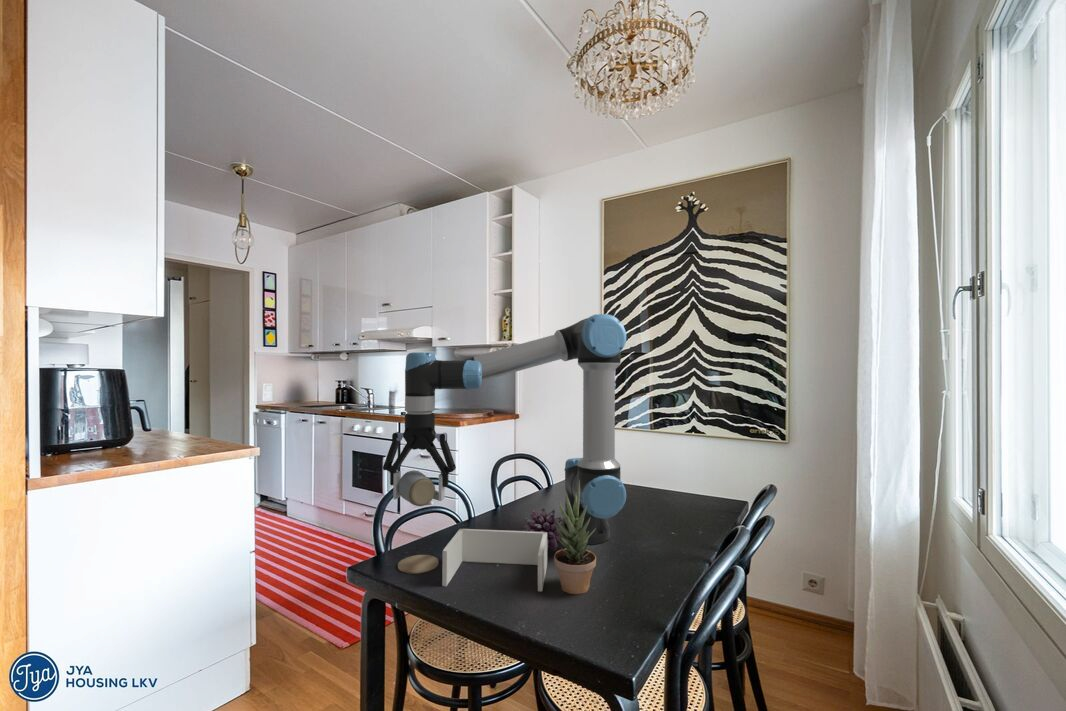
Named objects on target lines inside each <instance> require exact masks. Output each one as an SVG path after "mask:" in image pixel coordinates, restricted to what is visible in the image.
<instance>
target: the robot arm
mask: <svg viewBox="0 0 1066 711" xmlns="http://www.w3.org/2000/svg"><path fill="white" fill-rule="evenodd" d="M626 343H627V332H626V329H625V327H624V324H623V323H622V322H621V321H620V320H619V319H618V318H617V317H616V316H614V315H612V314H607V313H598V314H593V315H590V316H588V317H587V318H586V317H585V318H583V319H581V320H580V321H577V322H576V323H574V324H571V325H569V326H567V327H564V328H561V329H558V330H555V332H554V334H552V335H548V336H544V337H542V338H538V339H535V340H534V339H533V340H530V341H526V342H524V343H523V342H522V343H519V344H515V345H513V346H508V347H504V348H500V349H496V350H494V351H493V350H492V351H490V352H486V353H482V354H478V355H475V356H472V357H469V358H468V357H467V358H464V359H461V360H456V359H455V360H440V359H437V358H436V354H435V353H434V352H419V351H418V352H417V351H416V352H409V353H407V355H406V356H405V369H404V392H405V393H404V411H405V412H406V413H405V414H404V432H399V431H396V432H393V433H392V435H391V444H390V446H389V449H388V452H387V455H386V458H385V460H384V463H383V466H382V470H383V471H386V472H389V475H390V476H389V484H390V486H393V487H392V488H393V491H392V492H393V493H392V496H393V498H392V499H393V500H397V499H399V498H401V495H400V494H399V491H398V484H399V481H400V479H401V477H402V476H401V474H402V473H401V470H399V468H400V467H401V465H402V464H403V462H404V461H405V460H406V458H407V457H408V455H409V454H410V452H411V451H412V450H414V451H415V450H421V451H423V450H426V452H427V453H429V455H430V457H431V458H432V460H433V461H434V463H435V464H436V466H437V468H438V469H439V471H440V473H439V474H438V492H439V501H438V502H442V501H443V500H444V499H445V498H446V497H445V496H446V495H445V494H446V491H445V489H446V488H447V487H448V485H449V474H450V473H453V471H455V470H456V468H457V467H456V464H455V460H454V458H453V454H452V452H451V449H450V446H449V442H448V434H447V432H442V433H437V432H436V430H435V428H436V425H435V424H436V414H435V413H434V411H436V390H468V391H470V390H476V389H480V388H481V387H482V384H483V382H484V381H488V380H490V379H494V378H498V377H502V376H504V375H505V376H506V375H508V374H513V373H516V372H519V371H520V372H521V371H522V370H527V369H530V368H534V367H537V366H541V365H544V364H548V363H551V362H555V361H559V360H561V361H563V362H567V361H568V362H569V361H571V360H577V365H578V366H579V367H580V368H581V370H582V371H583V373H582V376H583V377H582V378H583V380H582V381H583V382H582V386H583V387H582V391H583V392H582V393H583V395H582V397H583V402H582V457H573V458H568V459H567V460H566V461H565V464H564V465H565V466H564V491H565V490H566V493H567V496H568V499H569V502H570V505H571V508H572V512H573V504H574V500H575V493H576V496H578V484H579V480H580V502H579V516H578V519H579V517H580V516H581V514H582V512H583V510H584V508H585V507H586V505H587V510H586V513H585V516H584V520H583V525H582V527H583V526H584V525H585V524H586V522H587V521H588V519H589V518H590V517H591V518H590V522H589V524H588V526H587V528H586V533H587V532H588V531H589V533H588V535H589V534H590V533H591V532H592V531H593V530H594V529H595V528H596V529H595V531H594V532H593V533H592V535H591V536H590V537H589V538H588V543H587V544H586V545H596V544H601V543H604V542H607V541H608V540H610V538H611V529H610V526H609V522H608V518H609V519H610V518H612V517H614V516H616V515H618V513H619V512H620V511H622V510H623V508H624V506H625V503H626V500H627V491H626V487H625V485H624V483H623V482H622V481H621V464H620V462H619V461H617V460H616V455H615V453H616V449H615V448H616V447H615V446H616V440H615V439H616V437H615V436H616V432H615V431H616V428H615V426H616V419H615V418H616V416H615V414H616V404H615V403H616V401H615V400H616V396H615V395H616V391H615V390H616V385H615V383H616V375H615V374H616V370H617V368H618V367H620V366H621V353H622V351H623V349H624V348H625V345H626ZM403 439H404V441H405V442H406V443H405V445H404V446H403V448H402V450H401V451H400V454H399V455H398V456H397V458H396V460H395V457H396V454H397V453H398V452H397V451H398V448H399V446H400V444H401V443H400V442H401V441H403ZM436 439H437V442H439V446H440V449H441V452H442V454H443V458H444V459H443V458H442V456H441V454H440V452H439V451H438V450H437V447H436V445H435V443H434V441H435V440H436ZM394 460H395V461H394ZM444 460H445V461H444ZM398 470H399V471H398ZM564 511H565V513H566V515H567V516H568V509H567V504H566V498H565V497H564ZM561 519H563V520H562V521H561V522H560V524H561V525H562V526H564V527H565V528H566V529H568V528H567V525H566V523H565V520H564V518H563V516H562V517H561ZM562 534H563V535H564V536H565V534H564V533H562ZM588 535H587V536H588ZM560 536H561V535H560ZM565 537H566V536H565ZM561 538H562V537H561ZM566 538H567V537H566Z"/></svg>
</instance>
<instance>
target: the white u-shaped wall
mask: <svg viewBox="0 0 1066 711" xmlns="http://www.w3.org/2000/svg"><path fill="white" fill-rule="evenodd" d="M463 562H464V563H465V562H469V563H487V564H488V563H489V564H491V563H493V564H506V565H507V564H511V565H526V566H527V565H530V566H532V565H533V566H537V592H543V588H544V585H545V584H544V583H545V578H546V573H547V568H548V549H547V532H529V531H522V530H501V529H500V530H499V529H480V528H479V529H476V528H475V529H473V528H459V529H458V530H457V532H456V533H455V535H454V536H453V537H452V538H451V540H449V542H447V544H446V546H445V547H444V548H443V550H442V573H441V574H442V575H441V576H442V577H441V578H442V583H441V585H442V587H447V586H448V585H449V583H450V582H451V580H452V578H453V577H454V575H455V574H456V573H457V570H458V569H459V567H460V566H461V565H462V563H463Z"/></svg>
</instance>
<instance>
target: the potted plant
mask: <svg viewBox="0 0 1066 711" xmlns="http://www.w3.org/2000/svg"><path fill="white" fill-rule="evenodd" d="M565 498H566V504H567V509H568V516H567V515H566V513H565V508H564V507H563V505H562V502H561V501H558V505H559V508H560V512H561V515H562V517H563V518H564V520H565V523H566V525H567V528H568V529H566V528H565V527H564V526H562V525H561V524H560V523H561V522H560V523H559V522H558V520H557V519H556V518H557V517H554V518H555V520H556V522H557V524H558V526H559V527H560V528H561V530H562V531H563V533H564V534H565V536H566V537H567V538H566V537H565V536H564V535H563V534H562V533H561V531H560V530H559V528H558V527H557V525H556V523H555V522H554V523H555V526H556V528H557V530H558V532H559V534H560V535H561V537H562V538H561V539H562V540H560V539H559V538H558V537H557V539H558V540H559V541H558V542H559V543H560V544H561V545H562V546H563V547H564V548H563V547H560V548H561V549H560V550H557V551H555V553H554V555H553V561H554V562H553V563H554V565H555V566H556V569H557V573H558V576H559V577H558V578H559V582H560V585H561V589H562V591H563V592H566V593H567V594H571V595H581V594H585V593H587V592H588V591H589V589H590V586H591V584H590V583H591V578H592V575H593V572H594V569H595V567H596V565H597V556H596V555H595V553H594V552H592V551H590V550H588V549H589V547H590V545H588V544H587V543H588V538H589V537H590V536H591V535H592V533H593V532H594V531H595V529H596V528H595V529H594V530H593V531H592V532H591V533H590V534H589V535H588V533H589V531H588V532H587V533H586V528H587V526H588V524H589V522H590V518H591V517H590V518H589V519H588V521H587V522H586V524H585V525H584V526H583V527H582V525H583V520H584V516H585V513H586V510H587V505H586V507H585V508H584V510H583V512H582V514H581V516H580V517H579V519H578V516H579V502H580V480H579V484H578V496H576V493H575V500H574V504H573V512H572V508H571V505H570V502H569V499H568V496H567V493H566V490H565V489H564V499H565ZM587 535H588V536H587ZM587 545H588V546H587Z"/></svg>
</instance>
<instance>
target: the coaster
mask: <svg viewBox="0 0 1066 711" xmlns="http://www.w3.org/2000/svg"><path fill="white" fill-rule="evenodd" d="M438 566H439V558H437V557H436V556H433V555H429V554H416V555H411V556H407V557H405V558H403V559H401V560H400V561H399V562H398V563H397V570H398V571H400V572H402V573H403V574H410V575H413V574H423V573H429V572H430V571H433V570H435V569H437V567H438Z"/></svg>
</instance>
